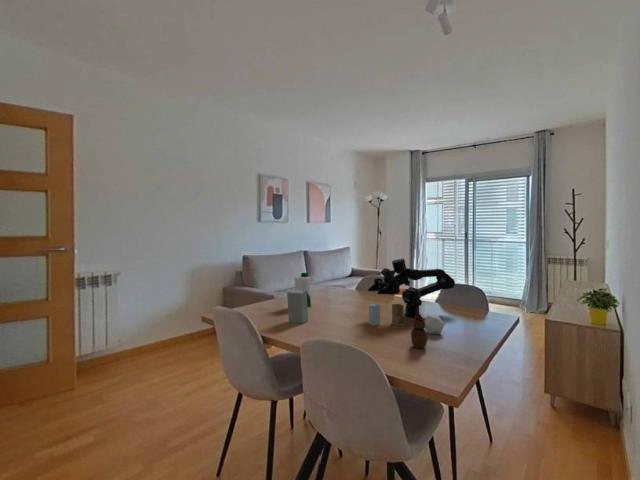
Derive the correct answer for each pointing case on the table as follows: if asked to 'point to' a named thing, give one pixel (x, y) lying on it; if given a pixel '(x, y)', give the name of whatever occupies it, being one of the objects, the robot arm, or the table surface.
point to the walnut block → (398, 314)
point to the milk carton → (303, 285)
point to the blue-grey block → (374, 314)
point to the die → (433, 324)
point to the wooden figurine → (419, 332)
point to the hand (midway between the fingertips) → (372, 291)
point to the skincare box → (297, 306)
